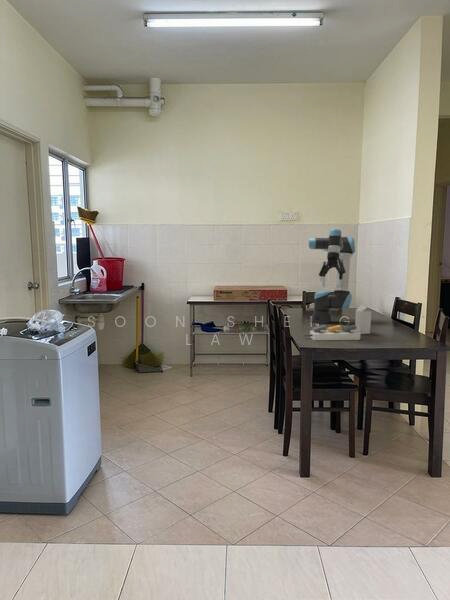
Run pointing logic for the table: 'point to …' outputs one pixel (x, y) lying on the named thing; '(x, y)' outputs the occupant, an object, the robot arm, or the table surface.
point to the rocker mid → (334, 328)
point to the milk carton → (363, 320)
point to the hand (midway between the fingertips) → (330, 285)
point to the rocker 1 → (319, 328)
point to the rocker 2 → (349, 328)
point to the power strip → (335, 335)
